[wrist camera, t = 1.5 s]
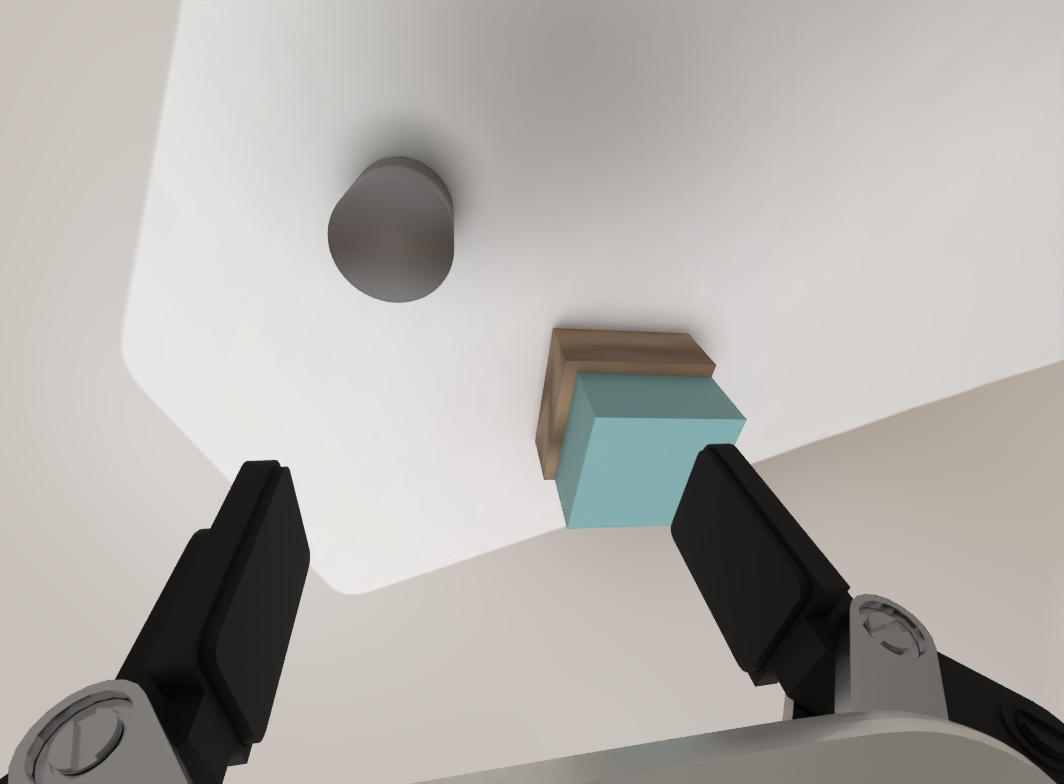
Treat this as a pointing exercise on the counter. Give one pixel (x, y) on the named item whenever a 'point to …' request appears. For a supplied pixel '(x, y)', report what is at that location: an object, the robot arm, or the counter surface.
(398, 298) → the charcoal cylinder
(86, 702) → the robot arm
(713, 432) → the teal top block
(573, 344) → the walnut base block
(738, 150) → the counter surface
